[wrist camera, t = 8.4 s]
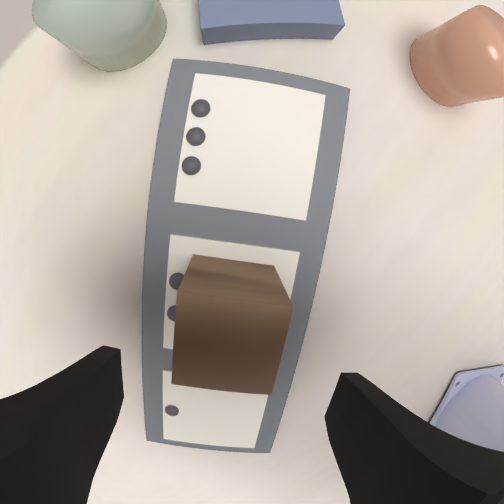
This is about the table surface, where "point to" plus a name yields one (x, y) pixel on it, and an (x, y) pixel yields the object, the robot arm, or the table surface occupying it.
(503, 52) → the peach dome-topped cylinder
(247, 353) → the block
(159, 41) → the sage dome-ended cylinder
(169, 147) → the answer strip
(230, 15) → the slate blue flat block
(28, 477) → the robot arm
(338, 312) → the table surface
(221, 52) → the table surface
